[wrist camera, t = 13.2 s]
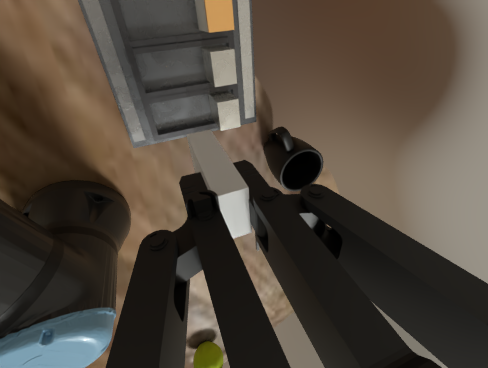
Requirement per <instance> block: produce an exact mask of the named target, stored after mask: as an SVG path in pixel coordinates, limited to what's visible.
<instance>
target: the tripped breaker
mask: <svg viewBox="0 0 488 368" xmlns="http://www.w3.org/2000/svg"><path fill="white" fill-rule="evenodd" d="M195 7H196V13H197V20H198V27H199V30H201V31H205V32H208V33H211V32H220V31H229V30H234V18H233V6H232V0H195Z"/></svg>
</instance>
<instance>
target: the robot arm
mask: <svg viewBox="0 0 488 368" xmlns="http://www.w3.org/2000/svg"><path fill="white" fill-rule="evenodd" d="M187 139H188V143H189V148H190V152H191V157H192V161H193V166H194V170H195V173H194V174H190V175H186V176H182V177H181V180H180V182H179V184H180V188H181V191H182V195H183V199H184V202H185V207H186V210H187V214H188V217H187V220H186V222H185V223H184V224H183V225H182V227H180V228H179V229H177V230H176V231H174V232H171V231H168V230H159V231H155V232H153V233H151V234H149V235H147V236H146V237H145V238H144V239H143V240H142V242H141V244H140V247H139V250H138V254H137V258H136V261H135V265H134V268H133V272H132V275H131V279H130V283H129V286H128V290H127V293H126V297H125V300H124V304H123V307H122V311H121V315H120V318H119V322H118V325H117V329H116V332H115V336H114V340H113V343H112V347H111V350H110V354H109V357H108V361H107V365H106V368H184V365H185V350H186V334H187V318H188V302H189V287H190V278H191V277H193V276H194V275H196V274H197V273H198V272H200V271H201V270H203V271H204V275H205V278H206V282H207V286H208V289H209V293H210V296H211V300H212V304H213V307H214V311H215V314H216V318H217V322H218V325H219V329H220V332H221V336H222V340H223V343H224V347H225V350H226V354H227V358H228V361H229V365H230V368H290V365H289V363H288V361H287V359H286V356H285V354H284V352H283V350H282V347H281V345H280V343H279V341H278V338H277V336H276V334H275V332H274V329H273V327H272V325H271V323H270V321H269V318H268V316H267V314H266V312H265V309H264V307H263V305H262V303H261V300H260V298H259V296H258V294H257V291H256V289H255V287H254V285H253V282H252V280H251V278H250V276H249V274H248V271H247V269H246V267H245V265H244V262H243V260H242V258H241V256H240V253H239V251H238V249H237V247H236V244H235V242H234V240H233V238H236V237H239V236H242V235H245V234H248V233H251V232H252V226H253V228H254V230H255V238H256V249H257V251H258V250H259V246H260V248H261V250H262V252H263V254H264V255H265V257H266V259H267V261H268V263H269V265H270V267H271V268H272V270H273V272H274V274H275V276H276V278H277V280H278V281H279V283H280V285H281V287H282V289H283V291H284V293H285V294H286V296H287V298H288V300H289V302H290V304H291V306H292V308H293V309H294V311H295V313H296V315H297V317H298V319H299V321H300V322H301V324H302V326H303V328H304V330H305V332H306V334H307V335H308V337H309V339H310V341H311V343H312V345H313V347H314V348H315V350H316V352H317V354H318V356H319V358H320V360H321V361H322V363H323V365H324V367H325V368H441V367H440V366H439V365H437V364H436V363H434V362H433V361H432V360H430V359H427V358H424V357H422V356H419V355H417V354H416V353H414V352H413V351H412V350H411V349H410V348H409V347H408V346H407V345H406V343H405V342H404V341H403V340H402V339H401V337H400V336H399V335H398V334H397V332H396V331H395V330H394V329H393V328H392V326H391V325H390V324H389V323H388V321H387V320H386V319H385V318H384V317H383V316H382V314H381V313H380V312H379V311H378V309H377V308H376V307H375V306H374V304H375V305H376V306H378V307H379V308H380V309H381V310H382V311H383V312H384V313H385V314H387V315H388V316H389V317H390V318H391V319H392V320H394V321H395V322H396V323H397V324H398V325H399V326H401V327H402V328H403V329H404V330H405V331H406V332H408V333H409V334H410V335H411V336H412V337H413V338H415V339H416V340H417V341H418V342H419V343H420V344H421V345H423V346H424V347H425V348H426V349H427V350H428V351H430V352H431V353H432V354H433V355H434V356H435V357H436V358H438V359H439V360H440V361H441V362H442V363H443V364H444V365H446V366H447V367H448V368H488V284H487V283H486V282H484V281H482V280H481V279H479V278H477V277H476V276H474V275H472V274H471V273H469V272H467V271H466V270H464V269H462V268H460V267H459V266H457V265H456V264H454V263H452V262H450V261H449V260H447V259H446V258H444V257H442V256H440V255H439V254H437V253H435V252H434V251H432V250H431V249H429V248H427V247H425V246H424V245H422V244H420V243H419V242H417V241H415V240H414V239H412V238H410V237H409V236H407V235H405V234H404V233H402V232H400V231H399V230H397V229H395V228H394V227H392V226H390V225H388V224H387V223H385V222H384V221H382V220H380V219H379V218H377V217H375V216H374V215H372V214H370V213H369V212H367V211H365V210H363V209H362V208H360V207H359V206H357V205H355V204H354V203H352V202H350V201H349V200H347V199H345V198H344V197H342V196H340V195H339V194H337V193H335V192H334V191H332V190H330V189H329V188H327V187H325V186H322V185H319V184H309V185H306V186H304V187H303V188H302V189H301V192H300V194H290V195H288V194H283V193H282V192H281V191H280V190H278V189H276V188H273V187H270V186H269V185H268V184H267V182H266V181H265V180H264V179H263V177H262V176H261V175H260V174H259V172H258V171H257V170H256V168H255V167H254V166H253V165H252V163H250V162H248V161H246V160H243V161H239V162H235V163H232V161H231V160H230V158H229V157H228V155H227V154H226V152H225V151H224V149H223V148H222V146H221V145H220V143H219V142H218V140H217V139H216V137H215V136H214V134H213V133H212V131H211V130H205V131H201V132H196V133H191V134H187ZM326 224H327V225H329V226H330V227H331V228H330V227H328V226H327V225H326ZM130 225H131V213H130V209H129V206H128V204H127V202H126V201H125V200H124V198H123V197H122V196H121V195H119V194H118V193H117V192H115V191H114V190H112V189H110V188H109V187H106V186H104V185H101V184H98V183H94V182H89V181H64V182H59V183H55V184H52V185H49V186H47V187H45V188H43V189H41V190H39V191H38V192H36V193H35V194H34V195H33V196H32V197H31V198H30V199H29V201H28V202H27V204H26V206H25V208H24V209H23V211H22V213H20V212H19V211H17V210H16V209H14V208H13V207H11V206H10V205H8V204H7V203H5V202H4V201H2V200H1V199H0V368H85V367H86V366H88V365H89V364H91V363H92V362H94V361H95V360H96V359H97V358H98V357H100V356H101V354H102V353H103V352H104V351H105V350H106V348H107V347H108V345H109V343H110V341H111V337H112V331H113V323H114V319H115V317H116V311H115V307H116V283H117V258H118V252H119V250H120V248H121V246H122V244H123V242H124V240H125V238H126V237H127V235H128V233H129V230H130ZM251 225H252V226H251ZM371 301H372V302H373V303H374V304H373V303H372V302H371Z"/></svg>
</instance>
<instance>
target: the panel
mask: <svg viewBox="0 0 488 368" xmlns="http://www.w3.org/2000/svg"><path fill="white" fill-rule="evenodd" d="M78 2H79V4H80V7H81V10H82V12H83V15H84V18H85V20H86V23H87V26H88V28H89V31H90V34H91V36H92V39H93V41H94V44H95V47H96V49H97V52H98V55H99V57H100V60H101V63H102V65H103V68H104V71H105V73H106V76H107V78H108V81H109V84H110V86H111V89H112V92H113V94H114V97H115V100H116V102H117V105H118V108H119V110H120V113H121V115H122V118H123V121H124V123H125V126H126V129H127V131H128V134H129V137H130V139H131V142H132V145H133V147H134V148H137V147H141V146H146V145H151V144H155V143H160V142H164V141H169V140H174V139H178V138H183V137H187V134H191V133H196V132H201V131H205V130H211V131H216V130H221V131H223V130H227V129H232V128H237V127H241V125H243V124H248V123H253V122H256V100H255V75H254V51H253V27H252V2H251V0H232V6H233V18H234V30H229V31H220V32H211V33H208V32H205V31H201V30H199V27H198V20H197V13H196V7H195V0H78Z"/></svg>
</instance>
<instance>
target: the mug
mask: <svg viewBox="0 0 488 368" xmlns="http://www.w3.org/2000/svg"><path fill="white" fill-rule="evenodd" d="M276 133H277V135H276ZM268 136H269V139H268V141H267V142H266V144H265V146H264V154H265V156H266V160H267V163H268V166H269V168H270V170H271V172H272V174H273V175H274V177H275V178H276V179H277V180H278V182H279V183H280V184H281V185H282V186H283V187H284V188H285V189H287V190H289V191H300V190H301V189H302V188H303V187H304V186H306V185H309V184H312V183H313V182H314V181H315V180H316V179H317V178H318V177H319V175H320V173H321V171H322V168H323V158H322V156H321V154H320V153H319V152H318V151H317V150H316V149H314V148H313V147H312V146H311V145H309V144H308V143H306V142H304V141H302V140H300V139H298V138H295V137H291V135H290V133H289V132H288V130H287V129H285V128H284V127H278V128H276V129H274V130H272V131H271V132H269V134H268Z"/></svg>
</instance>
